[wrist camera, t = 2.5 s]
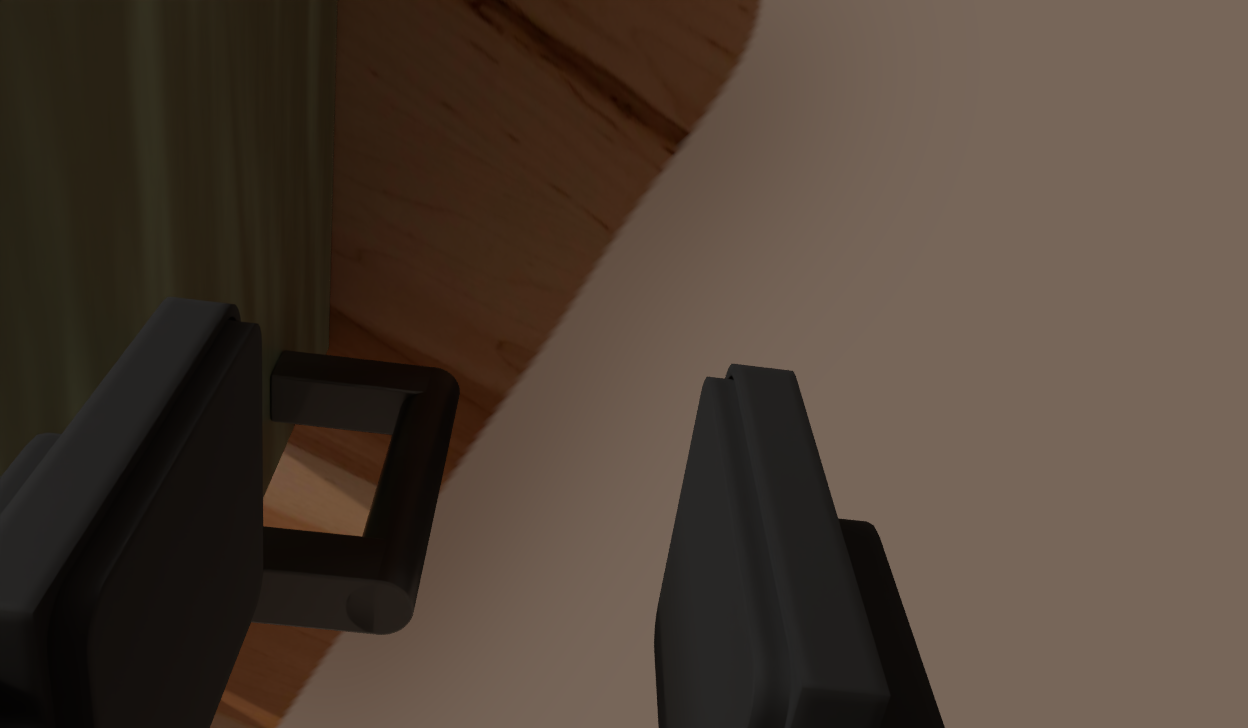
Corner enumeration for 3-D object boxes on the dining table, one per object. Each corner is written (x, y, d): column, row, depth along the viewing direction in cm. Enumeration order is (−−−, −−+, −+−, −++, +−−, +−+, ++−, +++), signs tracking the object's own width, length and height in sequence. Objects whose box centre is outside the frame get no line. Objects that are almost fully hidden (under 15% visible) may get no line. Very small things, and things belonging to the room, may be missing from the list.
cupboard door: (556, -512, 30) (453, -1046, 9) (474, 365, 43) (350, 987, 22) (312, -556, 30) (-387, -1230, 9) (301, 345, 42) (3, 962, 21)
